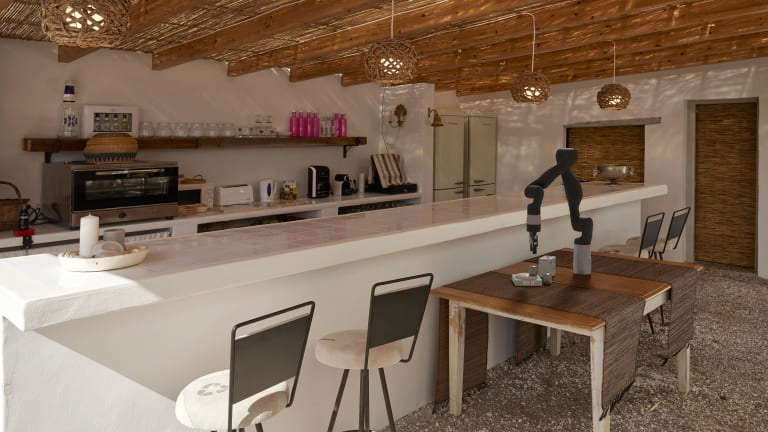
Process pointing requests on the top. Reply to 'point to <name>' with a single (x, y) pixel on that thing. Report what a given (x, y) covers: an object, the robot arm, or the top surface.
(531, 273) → the spacer
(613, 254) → the top surface
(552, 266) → the light bulb box
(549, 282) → the spacer
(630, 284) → the top surface
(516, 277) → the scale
